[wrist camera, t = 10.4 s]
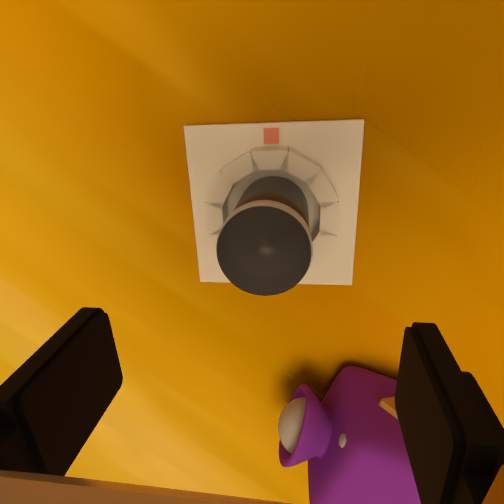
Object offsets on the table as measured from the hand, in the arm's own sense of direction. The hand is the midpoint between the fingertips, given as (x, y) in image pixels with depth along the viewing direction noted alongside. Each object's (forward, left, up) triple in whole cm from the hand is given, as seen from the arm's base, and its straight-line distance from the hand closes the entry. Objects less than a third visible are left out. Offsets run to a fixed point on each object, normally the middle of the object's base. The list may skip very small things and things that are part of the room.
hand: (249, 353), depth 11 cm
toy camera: (-7, +19, -18) cm, 27 cm away
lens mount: (0, 0, -17) cm, 17 cm away
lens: (0, 0, -16) cm, 16 cm away
